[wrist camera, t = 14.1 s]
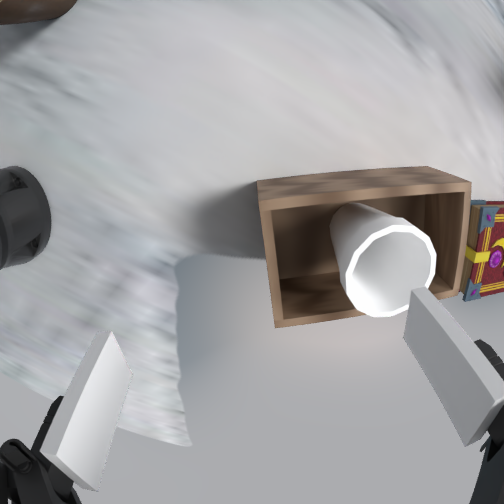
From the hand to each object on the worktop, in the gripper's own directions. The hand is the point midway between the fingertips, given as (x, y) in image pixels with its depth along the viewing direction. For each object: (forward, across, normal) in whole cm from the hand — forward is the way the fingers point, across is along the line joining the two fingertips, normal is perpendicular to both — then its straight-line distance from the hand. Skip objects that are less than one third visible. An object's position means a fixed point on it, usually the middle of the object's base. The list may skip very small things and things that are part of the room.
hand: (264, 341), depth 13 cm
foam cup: (+26, +12, -6) cm, 29 cm away
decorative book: (+26, +37, -12) cm, 47 cm away
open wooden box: (+26, +13, -6) cm, 30 cm away
